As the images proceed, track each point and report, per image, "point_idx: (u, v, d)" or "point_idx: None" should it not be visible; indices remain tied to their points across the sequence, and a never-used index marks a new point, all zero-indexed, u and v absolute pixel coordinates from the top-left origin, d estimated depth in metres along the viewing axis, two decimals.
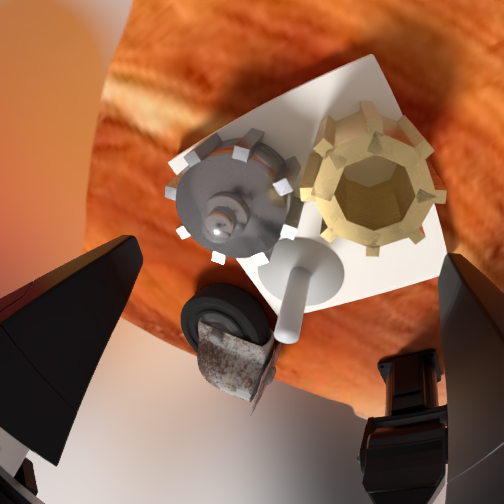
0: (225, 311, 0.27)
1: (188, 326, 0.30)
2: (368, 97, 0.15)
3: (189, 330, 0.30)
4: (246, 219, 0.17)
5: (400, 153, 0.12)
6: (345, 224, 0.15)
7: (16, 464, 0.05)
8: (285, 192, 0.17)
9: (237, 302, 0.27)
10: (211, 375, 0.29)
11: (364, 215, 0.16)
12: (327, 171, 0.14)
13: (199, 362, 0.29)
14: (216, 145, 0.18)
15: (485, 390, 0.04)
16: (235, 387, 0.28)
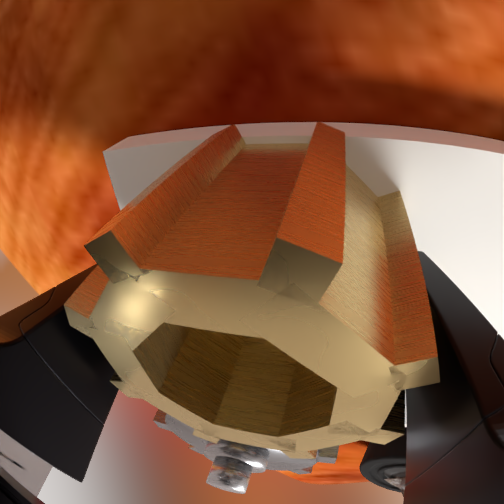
0: (396, 463, 0.15)
1: (382, 482, 0.18)
2: None
3: (386, 484, 0.18)
4: (244, 456, 0.10)
5: (126, 314, 0.05)
6: (286, 439, 0.06)
7: (39, 483, 0.05)
8: None
9: (400, 449, 0.15)
10: None
11: (319, 382, 0.06)
12: (166, 408, 0.07)
13: None
14: None
15: (436, 392, 0.04)
16: None
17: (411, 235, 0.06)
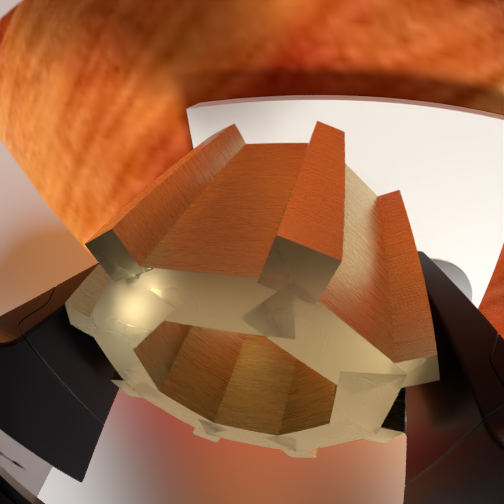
0: None
1: None
2: None
3: None
4: None
5: (127, 312, 0.05)
6: (287, 438, 0.06)
7: (39, 483, 0.05)
8: None
9: None
10: None
11: (320, 380, 0.06)
12: (167, 407, 0.07)
13: None
14: None
15: (436, 392, 0.04)
16: None
17: (410, 234, 0.06)
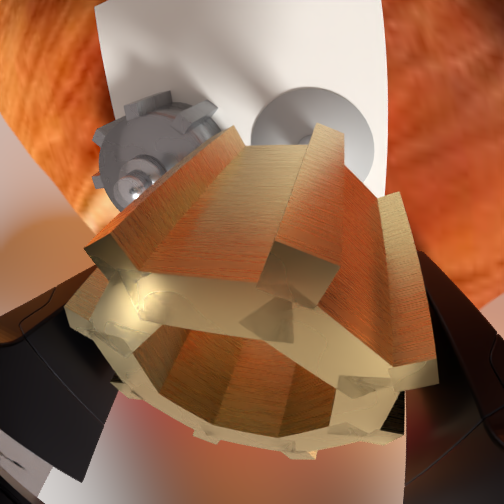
0: None
1: None
2: (123, 14, 0.13)
3: None
4: (144, 161, 0.14)
5: (126, 316, 0.05)
6: (286, 440, 0.06)
7: (39, 483, 0.05)
8: (136, 111, 0.14)
9: None
10: None
11: (319, 383, 0.06)
12: (167, 409, 0.07)
13: None
14: None
15: (435, 392, 0.04)
16: None
17: (410, 236, 0.06)
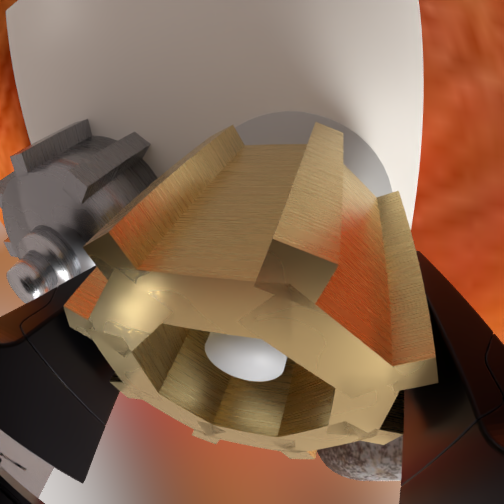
0: None
1: None
2: (32, 15, 0.08)
3: None
4: (39, 240, 0.09)
5: (125, 315, 0.05)
6: (285, 440, 0.06)
7: (41, 484, 0.05)
8: (23, 165, 0.08)
9: None
10: (353, 472, 0.14)
11: (319, 382, 0.06)
12: (166, 408, 0.07)
13: (326, 463, 0.15)
14: None
15: (431, 392, 0.04)
16: (392, 474, 0.12)
17: (409, 235, 0.06)
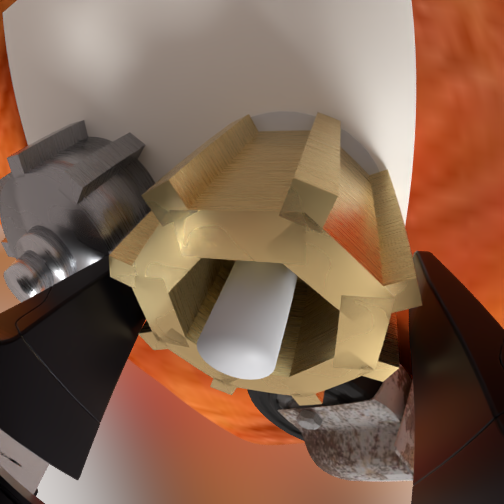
0: None
1: (279, 420, 0.18)
2: (29, 17, 0.08)
3: (285, 424, 0.18)
4: (35, 241, 0.09)
5: (169, 254, 0.06)
6: (297, 380, 0.08)
7: (36, 480, 0.05)
8: (20, 166, 0.08)
9: None
10: (343, 472, 0.14)
11: (324, 326, 0.08)
12: (190, 356, 0.08)
13: (316, 462, 0.15)
14: None
15: (445, 392, 0.04)
16: (382, 474, 0.12)
17: (395, 200, 0.07)
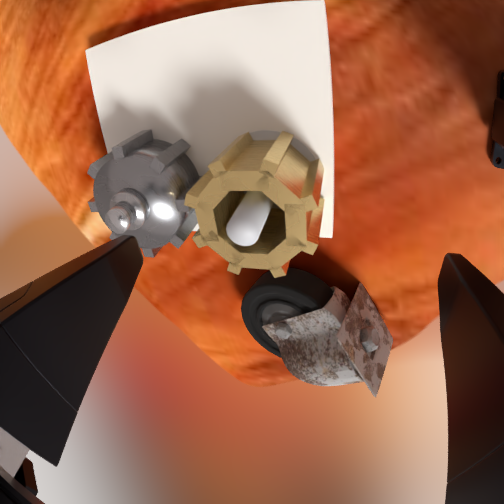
0: (269, 297, 0.24)
1: (263, 338, 0.27)
2: (110, 59, 0.17)
3: (267, 342, 0.27)
4: (129, 194, 0.18)
5: (216, 190, 0.15)
6: (271, 256, 0.17)
7: (16, 465, 0.05)
8: (122, 153, 0.17)
9: (271, 280, 0.24)
10: (307, 375, 0.24)
11: (284, 231, 0.17)
12: (218, 247, 0.17)
13: (288, 368, 0.25)
14: None
15: (485, 390, 0.04)
16: (334, 372, 0.22)
17: (316, 171, 0.16)
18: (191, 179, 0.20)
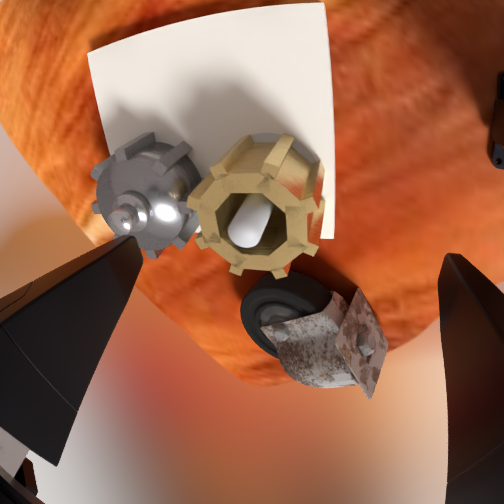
0: (268, 300, 0.24)
1: (260, 339, 0.27)
2: (112, 62, 0.17)
3: (264, 343, 0.27)
4: (131, 197, 0.18)
5: (217, 192, 0.15)
6: (272, 258, 0.17)
7: (16, 464, 0.05)
8: (124, 155, 0.17)
9: (271, 282, 0.24)
10: (304, 376, 0.24)
11: (285, 232, 0.17)
12: (220, 249, 0.17)
13: (285, 369, 0.25)
14: None
15: (485, 390, 0.04)
16: (330, 375, 0.22)
17: (317, 173, 0.16)
18: (193, 181, 0.20)
